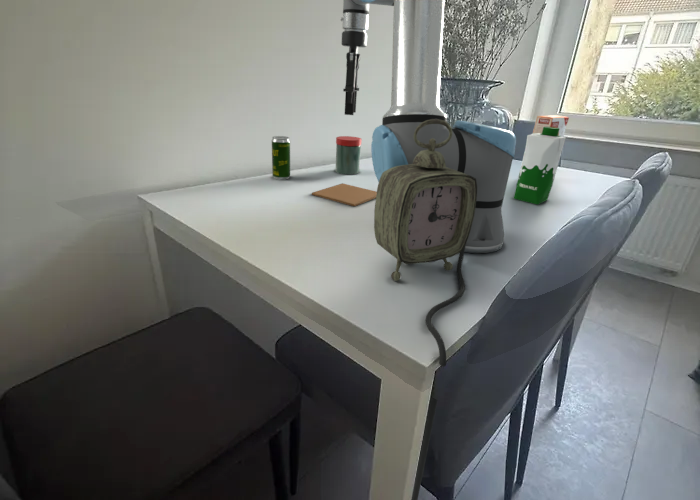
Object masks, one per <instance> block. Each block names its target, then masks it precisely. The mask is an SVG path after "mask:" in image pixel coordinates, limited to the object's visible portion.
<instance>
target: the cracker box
mask: <svg viewBox="0 0 700 500" xmlns="http://www.w3.org/2000/svg"><path fill="white" fill-rule="evenodd" d="M569 119H570V117H569V116H564V115H555V114H554V115H553V114H552V115H537V116H536V119H535V123H534V126H533V130H532V134H536V133H540V134H542V131H543V127H556V128H559V133H558V136H561V137H565V133H566V130H567V125H568V123H569Z"/></svg>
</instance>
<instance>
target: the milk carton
mask: <svg viewBox="0 0 700 500" xmlns="http://www.w3.org/2000/svg"><path fill="white" fill-rule="evenodd" d="M558 133H559V128H556V127H543V131H542V134H540V133H536V134H533V133H530V134H527V136H526V143H525V149H524V153H523V157H522V161H521V164H520V169H519V173H518V176H517V181H516V187H515V191H514V196H513V199H514V200H517V201H522V202H526V203H529V204H533V205H537V206H538V205H540V204H542V203H544V202H546V201H548V200H549V199H548V198H549V195H550V193H551V191H552V188H553V185H554V181H555V177H556V174H557V170H558V167H559V163H560V159H561V156H562V153H563V150H564V145H565V142H566V138H567V137H566V136H563V137H561V136H558Z"/></svg>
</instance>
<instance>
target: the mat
mask: <svg viewBox="0 0 700 500" xmlns="http://www.w3.org/2000/svg"><path fill="white" fill-rule="evenodd" d="M311 195H312V196H315V197H318V198H322V199H326V200H329V201H333V202H337V203H340V204H343V205H347V206H351V207H356V206H359V205H363V204H364V203H367V202H369V201H372V200H376V195H377V190H371V189H368V188H364V187H359V186H355V185H351V184H347V183H343V182H342V183H339V184H336V185H333V186H328V187H326V188H322V189H319V190H316V191H313V192H311Z"/></svg>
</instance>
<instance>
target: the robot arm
mask: <svg viewBox="0 0 700 500" xmlns="http://www.w3.org/2000/svg"><path fill="white" fill-rule="evenodd" d="M342 3H343V4H342V5H343V6H342V17H340V21H341V22H342V24H341V25H342V27H341V29H342V30H343V31H342V32H341V45H342V46H343V47H347V48H348V52H346V56H345V57H346V65H345V67H346V71H345V72H346V74H345V86H344V88H342V89H343V90H342V91H343V92H345V97H344V98H345V99H344V115H346V116H354V114H355V113H356V111H357V99H358V98H357V96H358V92H359V91H360V87H359V84H358V81H359V69H360V61H361V54H360V53H359V48H366V47H367V46H368V33H367V31H368V30H369V21H370V5H377V6H378V5H379V6H387V7H388V6H389V7H393V18H392V20H393V22H392V23H393V24H392V26H393V28H392V59H391V61H392V63H391V92H390V93H391V96H390V98H391V99H390V107H389V110H387V111H386V112H385V113H384V115H383V116H382V121H381V122H382V124H380V125H378V126H377V127H375V128H374V129H373V131H372V136H371V139H372V140H371V145H370V146H371V162H372V166H373V171H374V175H375V177H376V180H377V182H378V183H379V180H380V177H381V175H382V173H383V172H384V171H386V170H388V169H390V168H392V167H395V166H400V165H408V164H413V161H414V159H415V157H416V155H417V154H418V153H419V152H420V151H423V150H428V149H427V148H423V147H420V146H418V145H417V144H416V142H415V141H414V132H415V130H416V128H417V127H418V126H419V125H420V124H421V123H422V122H424V121H426V120H431V119H439V120H444V121H446V122H447V123H448V115H447V114H446V113H445V112H444V111H443V109H441V107H440V93H441V92H440V89H441V71H442V70H441V69H442V52H443V51H442V49H443V32H444V31H443V30H444V12H445V10H444V9H445V0H343V2H342ZM448 137H449V130H448V129H447V128H446V126H444V125H441V124H429V125H426V126H423V127H422V128H421V129H420V130H419V131H418V133H417V140H419V141H420V142H421V143H424V144H429V140H430V139H432V138H434V139H435V140H436V144H437V143H441V142H444V141H445V140H446V139H448ZM516 144H517V137H516V135H515V133H514V132H513V131H511V130H507V129H505V128H500V127H496V126H491V125H487V124H482V123H477V122H472V121H468V120H461V119H457V120H456V121H454V124H453V126H452V137H451V139H450V141H449V142H448V143H447V144H446V145H444V146H442V147H440V148H435V150H434V151H438V152H440V153H441V154H442V155H443V157H444V159H445V165H446V167H447V168H450V169H453V170H456V171H459V172H462V173H464V174H467V175H470V176H472V177H474V178H476V182H477V200H476V207H475V214H474V219H473V222H472V226H471V230H470V234H469V237H468V240H467V242H466V244H465V246H464V248H463V250H462V251H461V252H460V253H458V259H457V262H456V275H457V279H458V282H459V289H458V291H457V293H456V294H455V295H453V296H452V297H450V298H448V299H446V300H444V301H442V302H439V303H438V304H436V305H434V306H433V307H431V308H430V310H429V311H428V312H427V313H426V315H425V320H424V321H425V326H426V328H427V330H428V331H429V333H430V335H432V336H433V338H434V339H435V341H436V344H437V347H438V355H439V357H438V358H439V359H438V360H439V361H438V362H439V363H438V365H439V366H441V367H443V368H444V367H446V366H447V351H446V345H445V342H444V339H443V337H442V336H441V334H440V332H439V331H438V329H436V327H435V326H434V325H433V322H432V321H433V317H434V315H435V314H436V313H437V312H439V311H440V310H442V309H444V308H446V307H448V306H450V305H452V304H454V303H456V302H458V301H459V300H460V299H461V298H462V297H463V296H464V293H465V290H466V281H465V278H464V275H463V270H462V269H463V268H462V266H463V261H464V255H465V253H470V254H487V253H493V252H497V251H499V250H501V248H503V245H504V240H505V231H504V230H505V229H504V221H503V211H502V207H503V203H504V198H505V194H506V190H507V187H508V181H509V176H510V173H511V168H512V164H513V159H515V156H516V155H515V151H516ZM437 406H438V399H437V398H435V397H433V396H431V397H430V401H429V406H428V412H427V418H426V421H425V426H424V433H423V437H422V442H421V448H420V453H419V458H418V464H417V467H416V474H415V480H414V484H413V490H412V495H411V499H410V500H418V499H419V496H420V495H419V494H420V490H421V485H422V479H423V474H424V470H425V466H426V460H427V456H428V450H429V445H430V440H431V435H432V431H433V426H434V420H435V416H436V409H437Z"/></svg>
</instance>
